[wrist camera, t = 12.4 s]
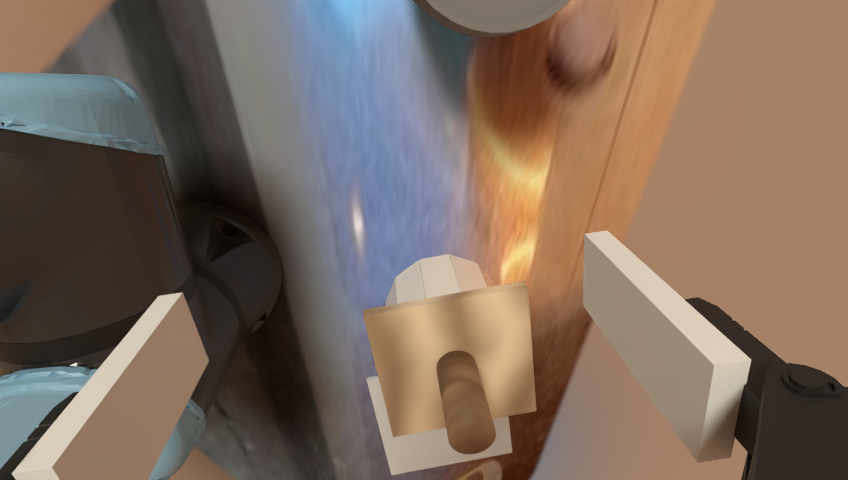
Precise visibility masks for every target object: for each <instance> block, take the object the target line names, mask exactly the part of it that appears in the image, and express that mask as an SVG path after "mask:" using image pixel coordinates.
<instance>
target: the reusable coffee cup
mask: <svg viewBox="0 0 848 480" xmlns="http://www.w3.org/2000/svg"><path fill="white" fill-rule="evenodd" d="M413 1H414V2H415V3H416V4H417V5H418V6H419V7H420V8H421V9H422V10H423V11H424V12H425V13H426V14H427V15H428V16H429V17H431V18H432V19H434V20H435V21H437V22H438V23H439V24H441V25H442V26H444V27H446V28H449V29H451V30H453V31H456V32H458V33H460V34H465V35H470V36H475V37H501V36H505V35H509V34H513V33H517V32H520V31H522V30H525V29H527V28H529V27H532V26H534V25H536V24H538V23H540V22H542V21H544V20H546V19H548V18H550V17H551V16H553V15H554V14H555V13H557V12H558V11H559V10H561V9H562V8H563V7H565V6H566V5H567V4H568V3H569V2H570V1H571V0H413Z"/></svg>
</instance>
